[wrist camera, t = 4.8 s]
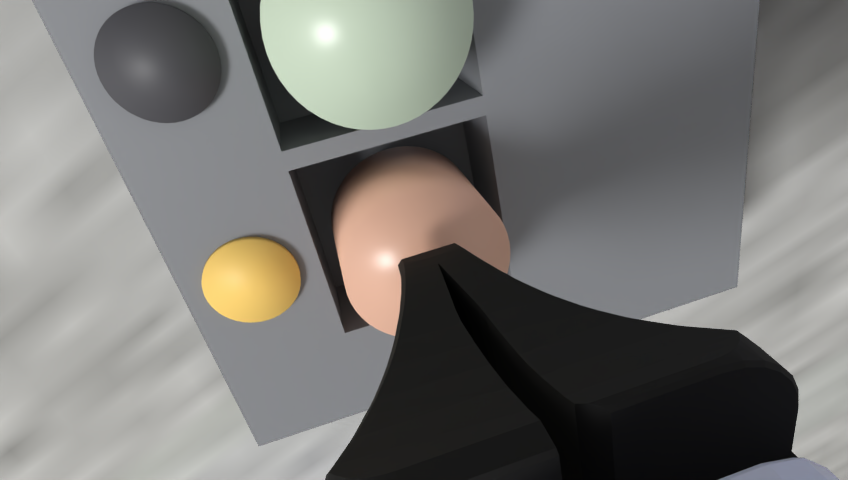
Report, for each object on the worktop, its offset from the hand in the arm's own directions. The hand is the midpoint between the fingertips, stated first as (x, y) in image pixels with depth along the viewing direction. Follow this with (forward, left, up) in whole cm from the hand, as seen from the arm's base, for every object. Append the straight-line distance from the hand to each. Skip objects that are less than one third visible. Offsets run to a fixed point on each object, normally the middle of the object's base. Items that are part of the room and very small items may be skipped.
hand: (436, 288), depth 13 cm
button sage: (0, -6, -4) cm, 7 cm away
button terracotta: (0, 0, -4) cm, 4 cm away
